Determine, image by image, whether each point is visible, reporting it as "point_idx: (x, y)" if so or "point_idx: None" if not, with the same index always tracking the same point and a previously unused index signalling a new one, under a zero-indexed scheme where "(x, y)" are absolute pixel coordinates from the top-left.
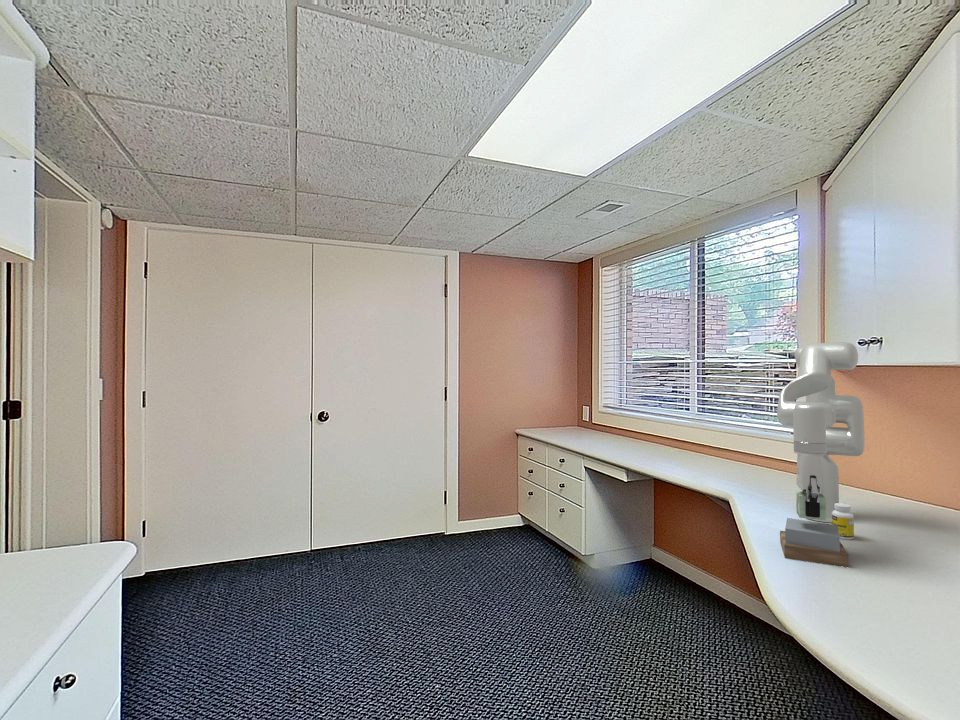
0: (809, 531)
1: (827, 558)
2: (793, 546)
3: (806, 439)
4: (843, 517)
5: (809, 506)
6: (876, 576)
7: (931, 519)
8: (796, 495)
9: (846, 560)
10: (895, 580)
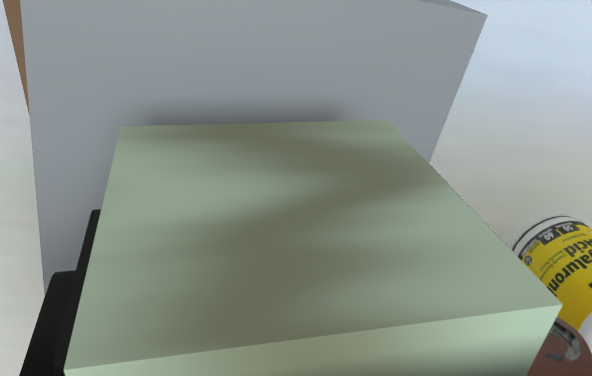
0: (61, 150)
1: None
2: None
3: None
4: (584, 324)
5: (42, 339)
6: (22, 308)
7: None
8: (481, 250)
9: None
10: (19, 354)
